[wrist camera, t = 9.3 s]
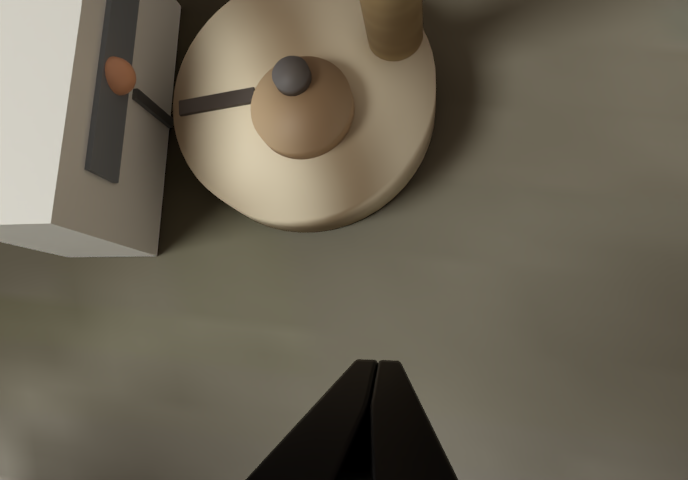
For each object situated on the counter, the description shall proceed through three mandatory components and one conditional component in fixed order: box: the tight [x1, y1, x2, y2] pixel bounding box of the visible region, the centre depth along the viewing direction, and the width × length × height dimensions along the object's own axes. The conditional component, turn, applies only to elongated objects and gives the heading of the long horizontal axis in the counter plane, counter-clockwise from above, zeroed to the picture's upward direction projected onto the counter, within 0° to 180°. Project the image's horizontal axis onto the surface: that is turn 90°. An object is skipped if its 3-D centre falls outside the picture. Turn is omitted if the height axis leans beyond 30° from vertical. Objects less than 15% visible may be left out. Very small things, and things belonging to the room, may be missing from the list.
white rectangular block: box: [0, 0, 181, 257], centre depth 22 cm, size 14×6×7 cm, turn 179°
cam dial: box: [173, 0, 436, 232], centre depth 18 cm, size 12×12×12 cm
